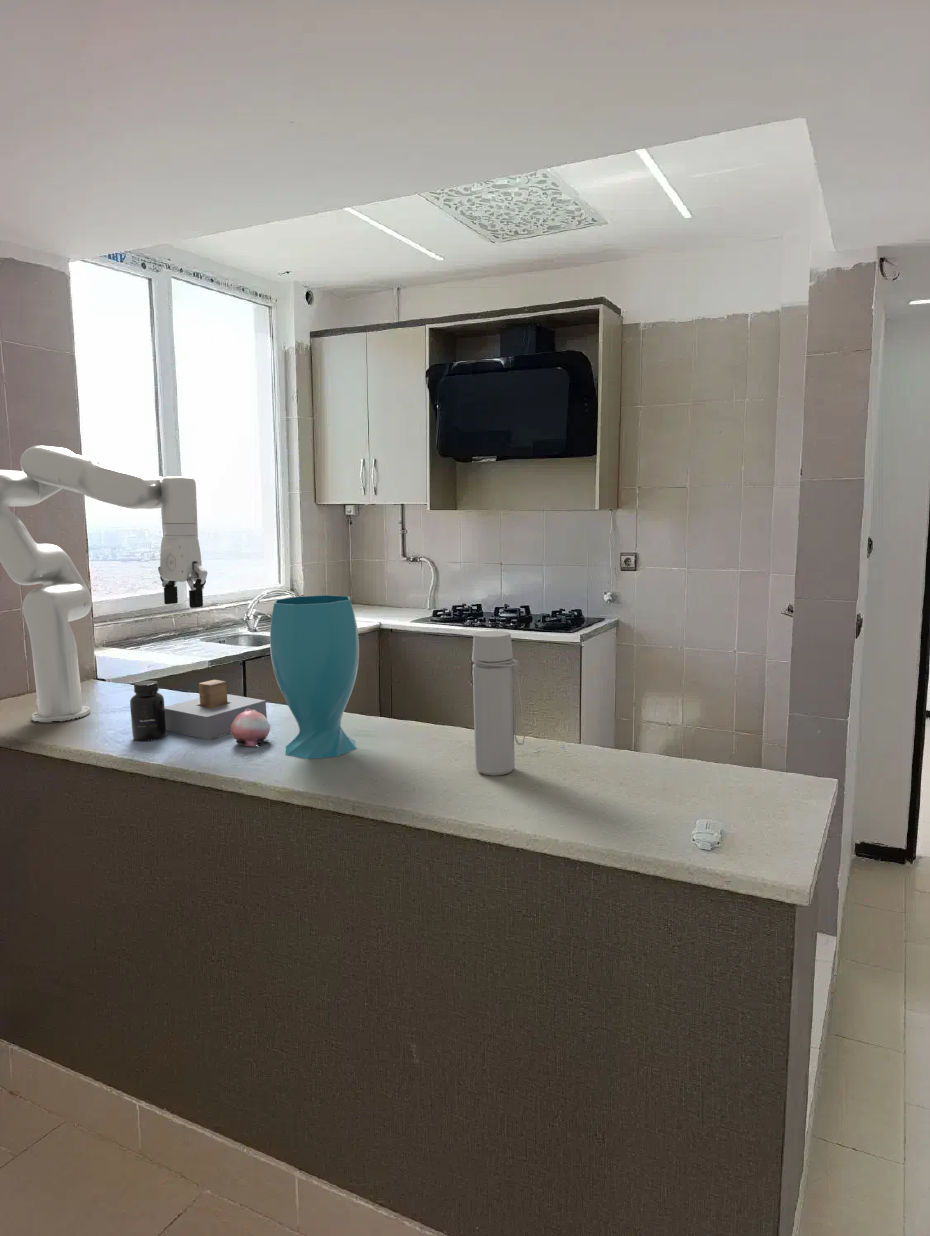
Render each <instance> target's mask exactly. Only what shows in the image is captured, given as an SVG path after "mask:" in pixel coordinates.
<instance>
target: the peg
mask: <svg viewBox="0 0 930 1236" xmlns="http://www.w3.org/2000/svg"><path fill="white" fill-rule="evenodd" d="M227 690H228V689H227V682H226V680H219V679H212V680H211V679H210V680H207V681H203V682H199V683H198V693H199V698H200V706H201V707H207V708H215V707H219V706H222V705H226V704H228V701H227V694H228V691H227Z"/></svg>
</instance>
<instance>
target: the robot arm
mask: <svg viewBox="0 0 930 1236" xmlns="http://www.w3.org/2000/svg"><path fill="white" fill-rule="evenodd" d="M19 464H20V468H21V470H13V469H12V470H10V469H0V563H1V565H2V567H3V569H4V571H5V572H6V573H7V575H8V576H9V578H10V580H12V581H13V582H14V583H16V584H17V585H21V586H33V585H39V584H42V586H38V587H36V588H33V589H32V590H30V592H28V593H27V594H26V596H25V597H24V600H23V602H22V612H23V613H22V614H23V617H24V620H25V623H26V626H27V630H28V634H29V639H30V640H29V641H30V646H31V654H32V664H33V672H34V682H35V691H36V692H35V693H36V700H34V703H35V704H36V706H37V709H38V710H37V711H35V712H33V713H32V714H31V721H33V722H36V721H41V722H40V723H53V722H52V721H60V722H66V720H67V721H71V719H72V720H76V719H75V718H77V719H79V717H80V718H82V717H85V716H87V715H89V714H90V713H91V708H90V707H89V706H88V705H83V697H82V688H81V676H80V667H79V657H78V647H77V641H76V636H75V634H74V632H73V629H72V627H71V625H70V623H69V622H73V621H76V620H79V619H83V618H84V617H86V616H87V615H88V614H89V613H90V611H91V609H92V606H93V599H92V594H91V592H90V590H89V588H88V586H87V585H86V582H85V581H84V579H83V577H82V576H81V574H80V572H79V571H78V569H77V567H76V566H75V564H74V562H73V561H72V559H71V557H70V556H69V555H68V554H67V552H66V551H65V550H63V549H62V548H61V547H60V546H58V545H55V544H53V543H37V542H36V541H35V540H34V539H33V537H32V535H31V534H30V533H29V530H28V529H27V527H26V525H25V524H24V523H23V522H22V521H21V520H20V518H19V517H18V516H17V515H15V514H14V512H12V511H11V510H10V508H9V507H14V508H15V507H31V506H34V505H37V504H39V503H41V502H43V501H45V500H47V499H48V498H50V497H52V496H54V495H55V494H57V493H58V492H59V491H61V490H67V491H71V492H73V493H77V494H80V495H81V494H82V495H84V496H86V497H87V498H88V497H89V498H91V499H94V500H97V501H99V502H103V503H107V504H110V505H114V506H118V507H121V508H122V507H123V508H127V509H131V510H133V509H134V510H137V509H141V510H142V509H146V510H150V509H151V510H153V509H160V508H161V515H162V517H161V518H162V520H161V521H162V537H161V543H160V544H161V545H160V552H159V553H160V556H159V557H160V559H159V560H160V561H159V562H160V563H159V566H158V567H157V570H158V573H159V576H160V577H159V579H160V580H161V582H162V584H161V586H162V587H163V602H164V605H173V604H178V603H179V600H178V599H179V598H178V586H176V584H177V583H178V582H179V583H180V582H181V583H182V582H183V583H184V582H187V584H188V586H189V588H190V590H188V595H189V597H188V600H189V601H188V602H189V604H188V605H189V608H190V609H194V608H195V609H196V608H202V607H203V606H204V598H203V597H204V595H203V593H204V592H203V590H204V589H205V585H206V583H207V582H206V581H207V576H208V571H207V570H206V569H205V568H204V567H203V563H202V555H201V547H200V542H199V533H198V532H199V529H198V503H197V502H198V500H197V485H196V484H197V483H196V480H195V479H194V478H193V477H190V476H178V475H177V476H175V475H174V476H165V477H163V476H157V475H148V474H147V475H146V474H133V473H127V472H123V471H119V470H116V469H112V468H107V467H106V466H105V467H104V466H102V465H101V464H100V462H99V461H98V460H97V459H95V458H92V457H89V456H84V455H81V454H76V453H74V452H73V451H71V450H70V449H68V448H65V447H59V446H49V445H33V446H31V447H29V448H26V450H25V451H24V452H22V454H21V456H20V459H19Z"/></svg>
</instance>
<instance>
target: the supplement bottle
mask: <svg viewBox="0 0 930 1236" xmlns="http://www.w3.org/2000/svg"><path fill="white" fill-rule="evenodd" d="M159 689H160V687H159V682H158V681H156V680H143V681H142V680H141V681H137V682H135V683H134V684H133V693H135V694H134V695H133V696H132V697H131V698H130V701H129V703H130V704H129V705H130V718H131V719H130V720H131V722H130V723H131V732H132V733H131V734H132V738H133V740H134V741H138V742H148V741H156V740H161V739H162V738H164V737H165V736H166V734H167V730H166V721H165V707H166V706H165V697H164V695H163V694H162V693H159V692H158V691H159Z"/></svg>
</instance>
